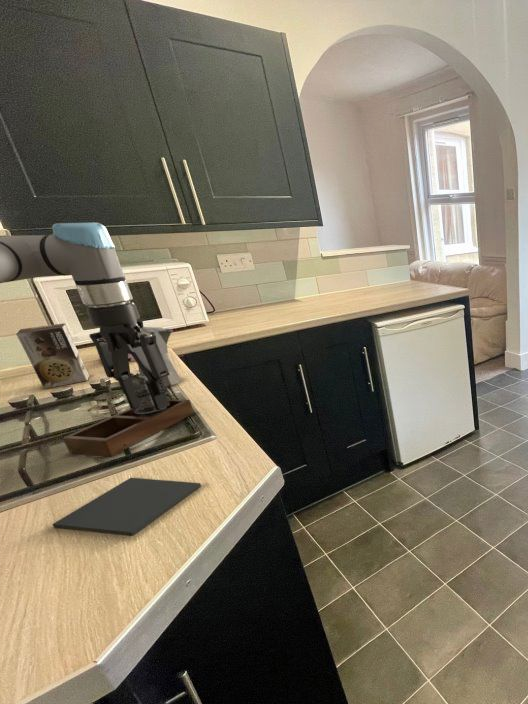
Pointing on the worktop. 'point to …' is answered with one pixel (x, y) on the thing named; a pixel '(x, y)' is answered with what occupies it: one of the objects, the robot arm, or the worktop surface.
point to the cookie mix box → (53, 355)
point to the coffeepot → (162, 352)
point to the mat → (128, 506)
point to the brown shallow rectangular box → (125, 430)
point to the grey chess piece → (144, 398)
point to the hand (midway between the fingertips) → (150, 406)
